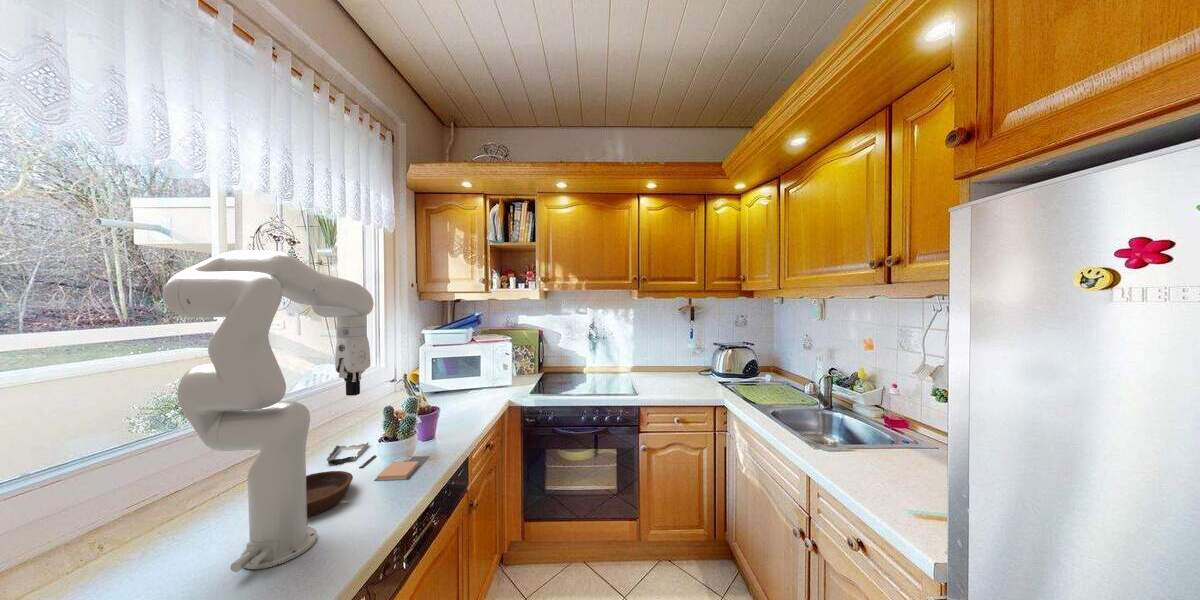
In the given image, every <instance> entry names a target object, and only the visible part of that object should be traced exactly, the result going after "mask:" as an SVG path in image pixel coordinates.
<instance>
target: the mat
mask: <svg viewBox="0 0 1200 600" xmlns="http://www.w3.org/2000/svg"><path fill="white" fill-rule="evenodd" d="M411 457H412V456H411ZM430 457H431V455H422V456H421V455H419V456H413V457H412V458H411V459H410V460H409V461H407V462H412V461H419V465H418V466H417V468H416V469H415V470H414V471H413V472H412V473H411V474H410V475H409V476H408V477H407V479H398V480H397V481H410V480H411V478H413V476H414V475H415V474H416V473H418V471H419V470H420V468H421V467H423V465H424V464H425V462H426V461H427V460H428V459H429V458H430ZM389 481H392V482H393V481H394V482H395V480H377V477H375V479H374V480H373V482H389Z"/></svg>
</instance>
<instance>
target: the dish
mask: <svg viewBox="0 0 1200 600" xmlns="http://www.w3.org/2000/svg"><path fill="white" fill-rule="evenodd" d="M353 478H354V476H353V474H352V473H350V472H348V471H344V470H330V471H321V472H315V473H311V474H306V488H307V518H308V517H313V516H316V515H319V514H321V513H324V512H325V511H328V510H330V509H331V508H333V507H335V506H336V505H338V504H340V502H342V500H344V498H345V496H347V493H348V490H349V488H350V484H352V482H353Z"/></svg>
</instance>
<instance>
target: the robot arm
mask: <svg viewBox="0 0 1200 600" xmlns="http://www.w3.org/2000/svg"><path fill="white" fill-rule="evenodd" d="M282 298H286V299H288V300H290V301H293V302H294V303H297V304H300V305H303V306H304V305H305V306H311V309H312V311H313V312H314V314H316V315H317V316H319V317H323V318H336V344H335V346H336V347H335V355H334V366H335V372H336V373H338V378H339V379H343V380H344V383H345V395H346V396H353V397H354V396H358V395H360V394H361V380H362V374H363V373H364V372H366V370H367V369H370V367H371V350H370V349H371V348H370V342H369V338H368V332H367V331H368V325H367V324H368V322H367V321H368V320H367V319H368V317H367V316H368V315H369V314H370V313H371V312H372V311H373V309H374V305H375V304H374V299H373V295H372V294H371V293H370V291H368V289H367V288H365V287H364V286H363V285H361V284H359V283H357V282H354V281H352V280H348V279H346V278H345V279H344V278H341V277H337V276H333V275H330V274H325V273H321V272H319V271H317V270H316V269H314V268H312V267H310V266H309V265H308V264H306V263H304V262H303V261H301V260H299V259H298V258H297V257H295V256H293V255H291V254H289V253H287V252H283V251H278V250H231V251H227V252H224V253H221V254H218V255H214V256H213V257H210V258H207V259H206V260H203V261H201V262H199V263H196V264H195V265H192V266H190V267H188V268H185V269H183V270H181V271H179V272H177V273H175V274H174V275H173V276H172V277H171V278H169V279H168V280H167V282H166V283H165V285H164V287H163V290H162V300H163V302H164V304H165V306H166V307H167V308H168V309H169V310H170V311H172V312H173V313H174V314H176V315H179V316H182V317H187V318H224V320H223V321H222V323H221V324H220V325H219V328H218V329H217V330H216V331H215V333H214V334H213V335H212V337H211V339H210V341H209V344H208V346H207V354H208V355H209V359H210V362H206V363H201V364H198V365H196V366H193V367H192V368H190V369H188V371H186V372H185V373H184V375H183V376H182V377H181V378H180V381H179V383H178V387H177V401H178V403H179V407H180V408H181V410H182V411H183V413H184V415H185V417H186V418H187V420H188V422H189V423H190V424H191V426H192V428H193V429H194V431H195V432H196V435H198V437H199V438H200V440H201V441H202V443H203V444H204V445H205V446H206V447H207V448H208V449H211V450H213V451H216V452H217V451H218V452H236V451H238V452H239V451H260V453H259V455H258V457H257V458H256V459H255V461H254V462H253V463H252V464H251V466H250V468H249V470H248V473H247V478H246V479H247V498H248V499H247V501H248V528H249V529H248V530H249V533H248V534H249V541H248V542H247V543H246V546H245V549H244V550H243V551H242V552H241V554H240V557H238V558H237V559H236V560H235V561H234V562H232V563H231V565H230V570H231V571H232V572H234V573H238V572H240V571H241V570H242V569H248V570H263V569H268V567H269V568H272V566H273V567H276V566H278V565H277V564H279V565H281V563H282V564H284V562H285V563H287V562H288V560H289V561H291V560H290V559H292V558H293V559H295V558H297V557H299V556H301V555H302V554H304V553H306V552H307V551H308V550H309V549H311V547H312V546H313V545H314V544H315V542H317V541H316V540H317V530H316V529H315V528H313V527H311V526H308V517H307V488H306V476H307V468H306V467H307V466H306V465H307V464H306V463H307V460H306V459H307V458H306V457H307V456H306V455H307V454H306V453H307V452H306V451H307V450H306V449H307V440H308V435H309V434H308V433H309V430H310V429H309V428H310V423H311V413H310V410H309V409H308V407H307V406H305V405H304V404H303V403H300V402H299V401H298V402H297V401H291V400H283V399H284V397H285V395H286V391H287V384H286V383H287V382H286V380H285V377H284V374H283V373H282V369H281V368H280V365H279V363H278V360H277V357H276V355H275V354H274V352H273V349H272V346H271V344H270V340H269V339H270V338H269V334H270V330H271V327H272V323H273V321H274V319H275V317H276V314H277V312H278V309H279V308H280V305H281V302H282ZM300 554H301V555H300ZM293 559H292V560H293ZM286 561H287V562H286ZM275 565H276V566H275Z"/></svg>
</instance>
